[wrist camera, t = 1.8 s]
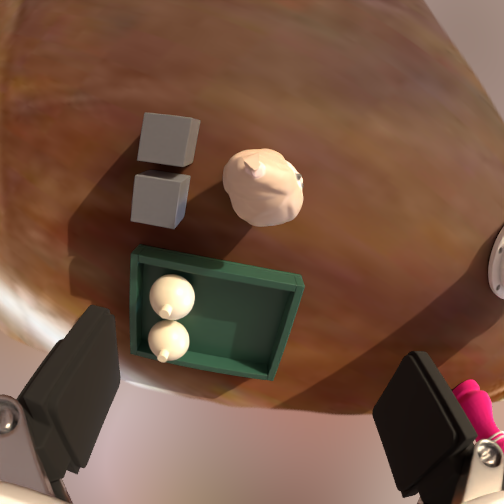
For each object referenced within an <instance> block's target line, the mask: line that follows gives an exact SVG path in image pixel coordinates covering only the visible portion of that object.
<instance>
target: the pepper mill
mask: <svg viewBox="0 0 504 504" xmlns="http://www.w3.org/2000/svg"><path fill="white" fill-rule="evenodd" d="M452 392H453V394H454V395H455V397H456V399H457V400H458V402H459V404H460V405H461V407H462V409H463V410H464V412H465V414H466V415H467V417H468V419H469V420H470V422H471V424H472V426H473V427H474V429H475V431H476V433H477V434H478V436H477V438H476V439H475V440H476V442H478V441H479V440H481V439H490V440H493V441H494V442H496V443H497V444H498V445H499V446H500V447H501V449H502V451H503V453H504V432H503V431H500V430H499V429H498V428H497V427H496V424H495V422H494V420H493V415H492V404H491V400H490V398H489V396H488V394H487V393H486V392H485V391H479V386H478V384H477V383H476V381H475V380H472V379H471V380H467V381H464V382H463V383H461V384H460V385H458V386H457V387H456V388H455V389H454V390H453V391H452Z"/></svg>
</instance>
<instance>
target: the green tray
mask: <svg viewBox="0 0 504 504" xmlns="http://www.w3.org/2000/svg"><path fill="white" fill-rule="evenodd" d="M168 274H176V275H179V276H182V277H184V278H185V279H186V280H187V281H188V282H189V283H190V284H191V286H192V287H193V290H194V294H195V301H194V305H193V307H192V309H191V311H190V312H189V313H188V314H187V315H186V316H184V317H183V318H180V319H177V320H174V321H177V322H179V323H180V324H182V325H183V326H184V327H185V329H186V330H187V332H188V335H189V347H188V350H187V351H186V353H185V354H184V355H183V356H182V357H180V358H179V359H177V360H172V361H166V363H171V364H175V365H180V366H185V367H190V368H195V369H200V370H205V371H211V372H216V373H222V374H228V375H234V376H241V377H247V378H254V379H262V380H270V381H273V380H274V377H275V374H276V372H277V369H278V366H279V363H280V360H281V357H282V355H283V352H284V349H285V346H286V343H287V340H288V337H289V334H290V331H291V328H292V325H293V322H294V319H295V316H296V313H297V310H298V306H299V303H300V300H301V297H302V294H303V291H304V287H305V286H304V283H303V280H302V276H301V275H300V274H294V273H289V272H283V271H278V270H272V269H267V268H262V267H256V266H251V265H245V264H240V263H235V262H230V261H224V260H219V259H214V258H209V257H203V256H198V255H193V254H188V253H183V252H178V251H173V250H167V249H162V248H157V247H152V246H147V245H142V244H139V245H138V246H137V247H136V248H135V249H134V251H133V252H132V253H131V260H130V352H131V354H134V355H137V356H141V357H145V358H149V359H154V360H158V359H157V356H156V355H155V354H154V353H153V352H152V351H151V349H150V347H149V343H148V336H149V332H150V330H151V328H152V327H153V326H154V325H155V324H156V323H158V322H159V321H162V320H168V319H163V318H161V317H160V316H159V315H158V314H157V313H156V312H155V311H154V310H153V308H152V306H151V303H150V296H149V295H150V290H151V287H152V285H153V284H154V282H155V281H156V280H157V279H159V278H160V277H162V276H164V275H168ZM158 361H159V360H158Z"/></svg>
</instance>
